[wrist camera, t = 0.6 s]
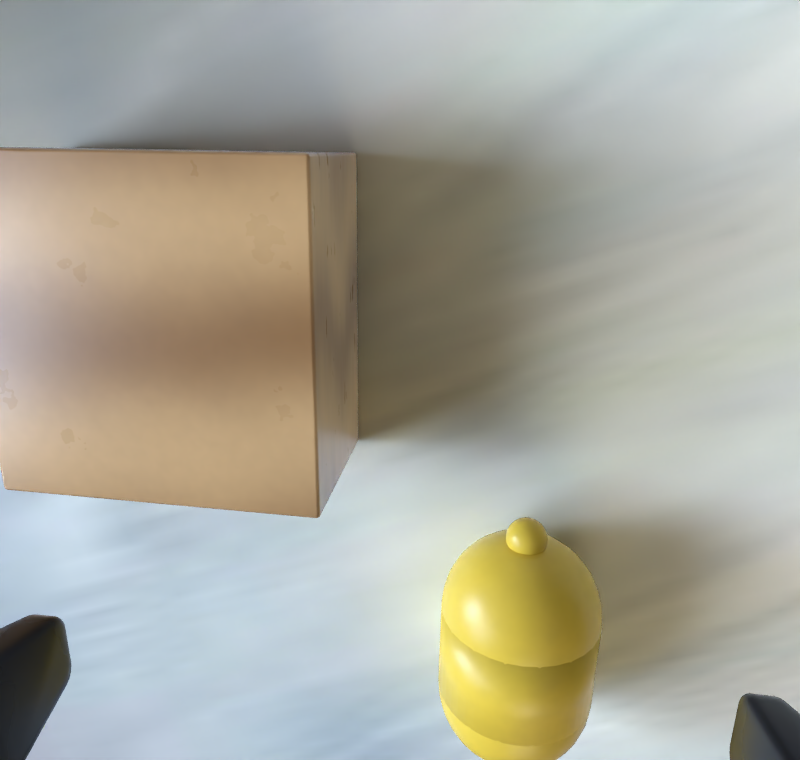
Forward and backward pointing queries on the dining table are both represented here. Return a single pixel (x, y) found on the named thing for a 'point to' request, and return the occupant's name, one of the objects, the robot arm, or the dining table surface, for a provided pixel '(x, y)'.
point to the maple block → (179, 325)
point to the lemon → (519, 645)
